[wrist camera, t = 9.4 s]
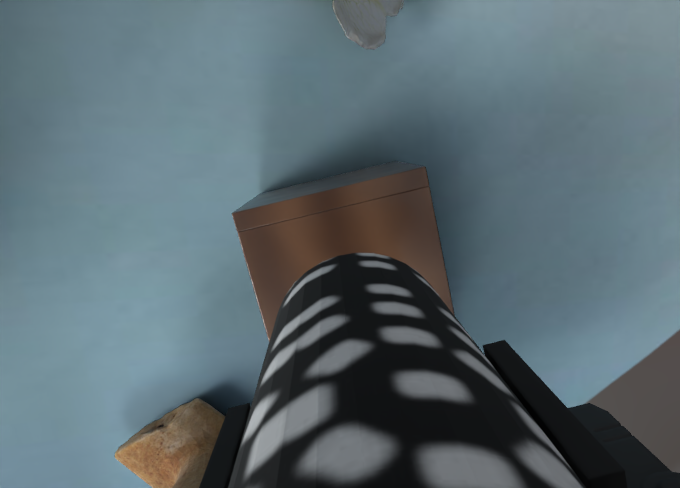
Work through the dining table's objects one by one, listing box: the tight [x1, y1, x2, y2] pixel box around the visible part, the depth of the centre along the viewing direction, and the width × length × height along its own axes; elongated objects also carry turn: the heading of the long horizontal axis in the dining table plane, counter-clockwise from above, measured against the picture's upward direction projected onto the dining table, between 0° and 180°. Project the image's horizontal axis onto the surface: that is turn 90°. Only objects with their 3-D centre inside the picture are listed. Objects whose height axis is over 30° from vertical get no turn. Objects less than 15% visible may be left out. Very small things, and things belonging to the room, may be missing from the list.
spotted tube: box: [228, 253, 586, 488], centre depth 13 cm, size 8×8×20 cm
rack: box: [232, 161, 455, 342], centre depth 36 cm, size 12×20×12 cm, turn 13°
